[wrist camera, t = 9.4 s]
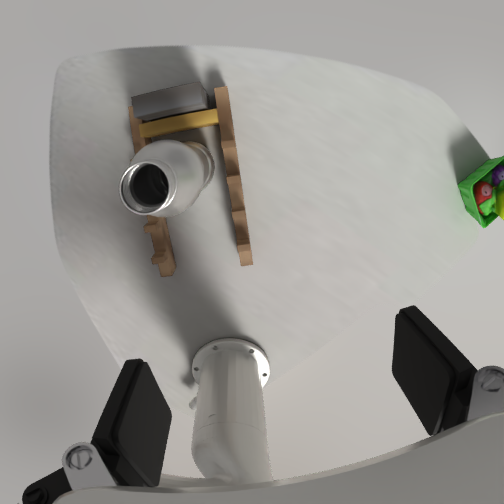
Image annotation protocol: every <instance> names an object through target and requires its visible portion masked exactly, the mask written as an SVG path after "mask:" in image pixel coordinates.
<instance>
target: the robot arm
mask: <svg viewBox="0 0 504 504" xmlns="http://www.w3.org/2000/svg"><path fill="white" fill-rule="evenodd" d="M392 373H393V376H394V378H395V379H396V381H397V382H398V384H399V386H400V387H401V389H402V391H403V392H404V394H405V396H406V397H407V399H408V401H409V402H410V404H411V405H412V407H413V409H414V411H415V412H416V414H417V416H418V417H419V419H420V421H421V422H422V424H423V426H424V427H425V429H426V431H427V433H428V434H429V435H430V436H431V437H429V438H426V439H424V440H421V441H419V442H416V443H414V444H411V445H408V446H406V447H403V448H400V449H397V450H395V451H392V452H389V453H386V454H383V455H380V456H377V457H374V458H371V459H367V460H364V461H361V462H357V463H354V464H350V465H347V466H343V467H339V468H335V469H331V470H327V471H322V472H318V473H313V474H309V475H304V476H298V477H293V478H287V479H281V480H273V476H272V471H271V466H270V459H269V451H268V441H267V431H266V422H265V411H264V401H263V391H262V387H263V386H264V385H265V384H266V382H267V380H268V378H269V375H270V365H269V361H268V358H267V356H266V355H265V353H264V352H263V351H262V350H261V349H260V348H259V347H258V346H256V345H254V344H253V343H250V342H248V341H245V340H241V339H234V338H225V339H219V340H215V341H212V342H210V343H208V344H206V345H204V346H203V347H202V348H201V349H199V350H198V352H197V353H196V355H195V356H194V359H193V363H192V374H193V377H194V379H195V381H196V382H197V384H198V385H199V389H198V392H197V396H196V397H195V398H194V399H193V400H192V401H191V402H190V403H189V406H190V408H191V409H192V410H195V411H196V412H195V420H194V428H193V437H192V448H191V450H192V456H193V459H194V462H195V464H196V466H197V467H198V469H199V470H200V472H201V473H202V474H203V476H204V477H205V478H191V477H190V478H189V477H182V476H175V475H168V474H162V473H161V470H162V466H163V460H164V454H165V450H166V444H167V439H168V434H169V429H170V424H171V418H172V414H171V410H170V408H169V406H168V404H167V402H166V400H165V398H164V396H163V394H162V392H161V390H160V388H159V386H158V384H157V382H156V380H155V378H154V376H153V374H152V371H151V369H150V367H149V365H148V363H147V362H143V360H142V359H131V360H126V362H125V364H124V366H123V368H122V370H121V372H120V374H119V377H118V379H117V381H116V383H115V386H114V388H113V390H112V392H111V394H110V397H109V399H108V401H107V404H106V406H105V408H104V410H103V413H102V415H101V417H100V420H99V422H98V425H97V427H96V429H95V432H94V434H93V437H92V441H91V443H86V442H80V443H76V444H74V445H72V446H71V447H69V448H68V449H67V450H66V451H65V453H64V455H63V458H62V465H63V467H62V468H61V469H59V470H57V471H55V472H53V473H51V474H50V475H48V476H46V477H44V478H42V479H40V480H38V481H36V482H35V483H33V484H31V485H29V486H28V487H27V488H26V490H25V491H24V493H23V496H22V501H23V504H504V369H503V368H501V367H498V366H486V367H483V368H481V369H479V370H477V369H476V368H475V367H474V366H473V365H472V364H471V363H470V362H469V360H468V359H467V358H466V357H465V356H464V355H463V354H462V353H461V352H460V351H459V350H458V349H457V348H456V347H455V346H454V344H453V343H452V342H451V341H450V340H449V339H448V338H447V337H446V336H445V335H444V334H443V333H442V332H441V331H440V330H439V329H438V328H437V327H436V326H435V325H434V324H433V323H432V322H431V321H430V320H429V319H428V318H427V317H426V316H425V315H424V314H423V313H422V312H421V311H420V310H419V309H418V308H417V307H416V306H414V305H413V306H409V307H406V308H403V309H400V311H399V314H397V315H396V318H395V335H394V350H393V361H392ZM432 435H433V436H432ZM18 504H19V503H18Z"/></svg>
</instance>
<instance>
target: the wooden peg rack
mask: <svg viewBox="0 0 504 504" xmlns="http://www.w3.org/2000/svg"><path fill="white" fill-rule="evenodd" d="M214 91H215V98H216V105H217V109H211V110H210V104H209V97H208V95H207V93H206V91H205V90H204V88H203V87H202V85H201V83H200V82H196V83H190V84H185V85H181V86H176V87H171V88H167V89H162V90H158V91H154V92H150V93H146V94H142V95H138V96H135V97H131V98H132V106H130V107H128V109H129V117H130V124H131V131H132V138H133V144H134V151H135V155H136V154H137V153H138V152H139V151H140V150H141V149H142V148H143V147H145V146H146V145H148V144H150V143H152V140H151V138H152V137H156V136H161V135H166V134H170V133H175V132H180V131H185V130H190V129H196V128H201V127H207V126H213V125H219V126H220V133H221V139H222V142H221V146H222V149H223V153H224V160H225V166H226V173H227V177H226V179H227V184H228V186H229V193H230V199H231V206H232V218H233V219H234V225H235V231H236V238H237V250H238V252H239V257H240V263H241V266H246V265H253V261H252V253H251V246H250V240H249V233H248V226H247V219H246V212H245V205H244V198H243V191H242V184H241V178H240V171H239V164H238V157H237V150H236V143H235V136H234V129H233V122H232V115H231V108H230V101H229V95H228V88H227V86H224V87H218V88H214ZM149 121H150V122H149ZM131 161H132V159H131ZM147 219H148V223H147V224H146V225H145V226H144V231H145V233H148V232H150V233H151V237H152V242H153V246H154V250H155V254H154V255H153V256H152V258H151V260H152V264H158V266H159V270H160V274H161V277H166V276H172V275H173V273H174V271H175V269H176V264H175V259H174V255H173V251H172V246H171V242H170V237H169V232H168V228H167V223H166V218H165V217H156V216H152V215H147Z"/></svg>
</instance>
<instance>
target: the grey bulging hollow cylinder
mask: <svg viewBox="0 0 504 504" xmlns="http://www.w3.org/2000/svg"><path fill="white" fill-rule="evenodd" d="M214 169H215V165H214V160H213V157H212V155H211V153H210V151H209V150H208V149H207V148H206V147H204V146H203V145H201V144H199V143H197V142H192V141H186V142H179V141H175V140H158V141H155V142H152V143H150V144H148V145H146V146H145V147H143V148H142V149H141V150H140V151H139V152H138V153H137V154H136V155H135V157H134V158H133V159H132V161H131V163H130V165H129V167H128V169H127V170H126V171H125V172H124V174H123V175H122V177H121V180H120V184H119V194H120V198H121V201H122V202H123V204H124V205H125V207H126V208H127V209H128V210H130V211H131V212H133V213H135V214H139V215H152V216H156V217H171V216H175V215H177V214H180V213H182V212H183V211H185V210H187V209H188V208H189V207H190V206H191V205H192V204H193V203H194V202H195V200H196V199H197V197H198V195H199V194H200V192H201V191H202V190H203V189H204V188H206V187H207V186H208V184H209V183H210V181H211V180H212V178H213V175H214Z"/></svg>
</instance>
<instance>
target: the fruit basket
mask: <svg viewBox="0 0 504 504" xmlns="http://www.w3.org/2000/svg"><path fill="white" fill-rule="evenodd" d="M458 188H459V189H460V190H461V191H460V192H461V196H462V199H463V202H464V204H465V205H466V211H467V212H468V213H469V214H470V215H472V216H473V217H474V218H475V219H476V220H477V221H478V223H479V224H480V225H481V226H482V227H483V228H486V227H487V226H488V225H489V224H490V223H491V222H492V221H493V220H495V219H496V218H497V217H498V216H500V217H501V218H502V219H503V220H504V156H502V157H499V158H495V159H490V160H487V161H486V162H485V163H484V164H483V166H480V167H479V168H478V169H477V170H476V171H475V172H474V173H472V174H470V175H469V176H468V177H467V178H466V180H463V181H462V182H460V183H459V184H458Z"/></svg>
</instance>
